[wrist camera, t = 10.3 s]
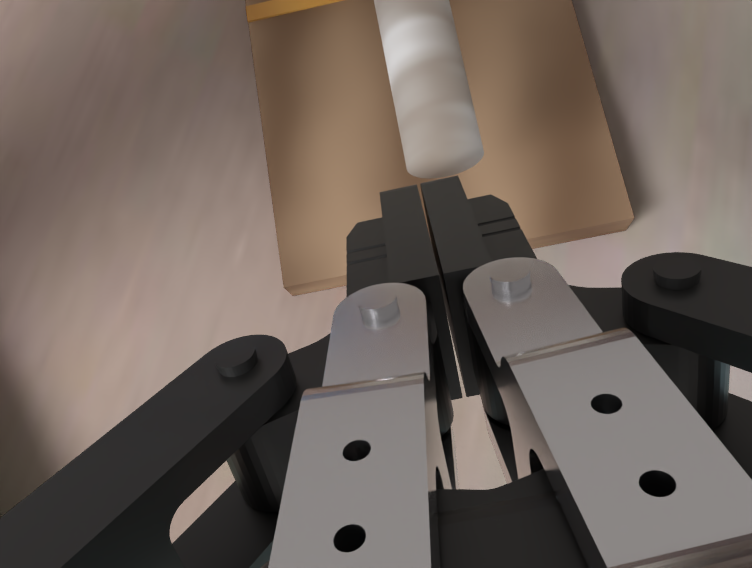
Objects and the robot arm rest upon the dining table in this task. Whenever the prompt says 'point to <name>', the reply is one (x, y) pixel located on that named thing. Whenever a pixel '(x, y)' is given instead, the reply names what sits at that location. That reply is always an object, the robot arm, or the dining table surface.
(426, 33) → the rod rig
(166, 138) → the dining table surface
